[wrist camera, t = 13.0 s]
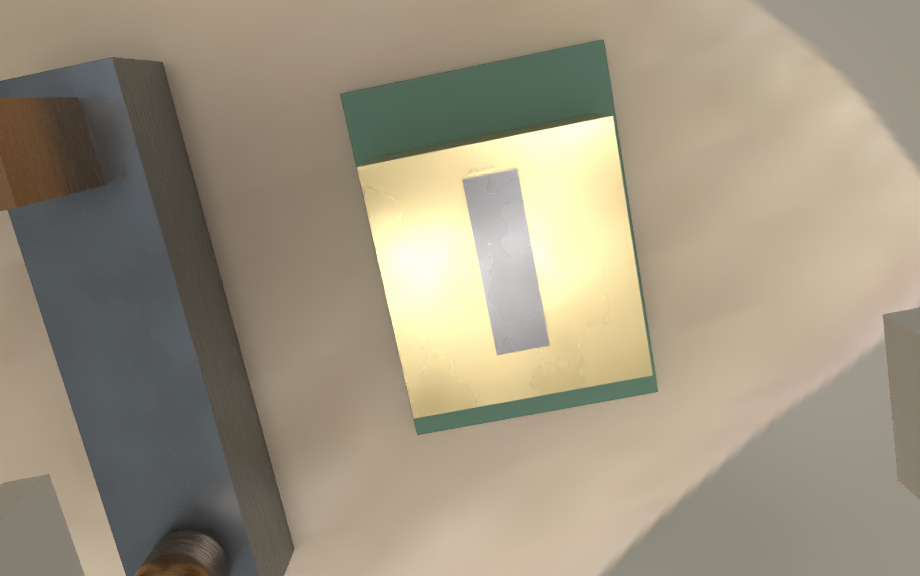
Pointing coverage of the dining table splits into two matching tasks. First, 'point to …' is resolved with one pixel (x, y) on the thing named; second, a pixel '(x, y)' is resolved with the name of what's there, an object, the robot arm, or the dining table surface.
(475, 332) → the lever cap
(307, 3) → the dining table surface
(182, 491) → the knobbed metal bar
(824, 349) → the dining table surface
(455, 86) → the felt pad
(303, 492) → the dining table surface
